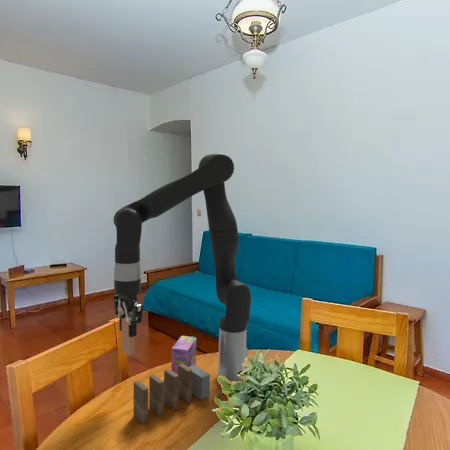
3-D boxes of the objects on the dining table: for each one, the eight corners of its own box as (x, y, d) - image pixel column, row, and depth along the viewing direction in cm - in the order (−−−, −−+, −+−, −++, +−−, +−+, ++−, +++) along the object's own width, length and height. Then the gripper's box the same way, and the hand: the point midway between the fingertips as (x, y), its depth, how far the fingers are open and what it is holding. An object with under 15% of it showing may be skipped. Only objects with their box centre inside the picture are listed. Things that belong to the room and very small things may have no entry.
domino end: (126, 348, 108) (126, 316, 107) (134, 354, 104) (134, 321, 103) (121, 350, 107) (121, 318, 106) (129, 356, 103) (129, 322, 102)
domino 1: (138, 414, 100) (138, 380, 99) (148, 422, 96) (148, 387, 96) (133, 416, 99) (133, 382, 98) (142, 425, 95) (143, 390, 94)
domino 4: (181, 394, 110) (182, 363, 109) (191, 401, 107) (192, 369, 106) (177, 396, 109) (178, 364, 108) (187, 403, 106) (188, 371, 105)
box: (187, 384, 116) (187, 349, 115) (170, 382, 117) (171, 347, 116) (196, 369, 126) (196, 337, 125) (180, 367, 127) (181, 335, 126)
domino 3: (168, 400, 107) (168, 368, 106) (178, 408, 103) (178, 375, 102) (163, 402, 106) (164, 370, 105) (173, 410, 102) (174, 377, 101)
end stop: (193, 385, 115) (193, 364, 115) (209, 396, 110) (209, 374, 109) (185, 388, 113) (186, 367, 113) (201, 399, 108) (202, 377, 107)
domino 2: (153, 406, 104) (154, 374, 103) (163, 415, 100) (164, 381, 99) (149, 409, 102) (149, 376, 101) (158, 417, 99) (159, 383, 98)
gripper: (152, 279, 101) (151, 337, 102) (127, 270, 111) (127, 323, 113) (127, 284, 96) (128, 345, 97) (104, 274, 106) (104, 329, 108)
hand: (127, 333), depth 105 cm, fingers closed on domino end, 5 cm apart
